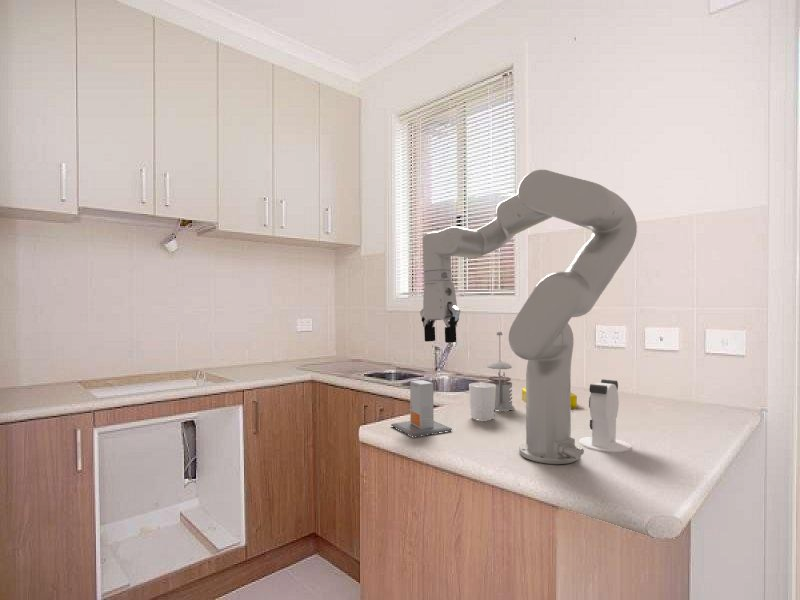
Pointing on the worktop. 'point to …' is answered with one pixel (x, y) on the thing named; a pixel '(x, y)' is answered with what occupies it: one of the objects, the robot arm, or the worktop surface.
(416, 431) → the tray
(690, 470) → the worktop surface
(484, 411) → the white cup
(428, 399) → the skincare box
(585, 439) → the panda figurine
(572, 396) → the element tile
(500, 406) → the french press
